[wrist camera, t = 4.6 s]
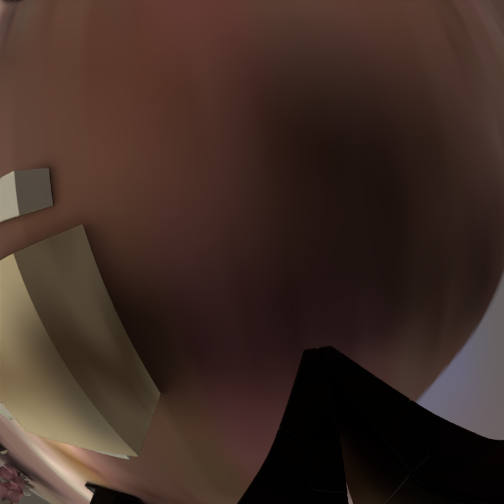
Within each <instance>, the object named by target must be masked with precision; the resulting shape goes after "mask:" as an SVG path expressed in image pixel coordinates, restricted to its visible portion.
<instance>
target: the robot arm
mask: <svg viewBox="0 0 504 504" xmlns="http://www.w3.org/2000/svg"><path fill="white" fill-rule="evenodd" d="M346 483H347V486H348V489H349V492H350V496H351V499H352V502H353V504H504V440H494V439H489V438H486V437H483V436H481V435H478V434H476V433H474V432H471V431H469V430H467V429H465V428H462V427H460V426H458V425H456V424H454V423H451V422H449V421H447V420H445V419H443V418H441V417H439V416H437V415H435V414H433V413H432V412H430V411H428V410H427V409H425V408H423V407H422V406H420V405H419V404H417V403H416V402H414V401H412V400H411V401H410V399H409V398H408V397H406V396H405V395H403V394H402V393H400V392H399V391H397V390H395V389H394V388H392V387H391V386H389V385H388V384H386V383H385V382H383V381H382V380H380V379H379V378H377V377H376V376H375V375H373V374H372V373H370V372H369V371H367V370H366V369H364V368H363V367H361V366H360V365H358V364H357V363H355V362H354V361H352V360H351V359H350V358H348V357H347V356H345V355H344V354H342V353H341V352H339V351H338V350H337V349H335V348H334V347H332V346H327V347H320V348H318V349H317V348H313V349H306V350H304V351H303V354H302V358H301V361H300V365H299V368H298V371H297V375H296V378H295V381H294V384H293V388H292V391H291V394H290V397H289V400H288V403H287V406H286V409H285V412H284V415H283V418H282V421H281V424H280V426H279V429H278V431H277V434H276V437H275V440H274V442H273V444H272V447H271V449H270V451H269V453H268V456H267V457H266V459H265V461H264V463H263V465H262V466H261V468H260V470H259V472H258V473H257V475H256V476H255V478H254V479H253V481H252V483H251V484H250V486H249V487H248V489H247V490H246V492H245V493H244V494H243V496H242V497H241V499H240V500H239V502H238V503H237V504H349V503H348V496H347V486H346ZM85 487H87V488H88V489H89V490H90V491H91V492H93V493H94V494H93V496H92V499H91V502H90V504H144V503H142V502H141V501H140V500H139V499H137V498H135V497H131V496H127V495H123V494H120V493H116V492H113V491H109V490H106V489H103V488H100V487H97V486H94V485H91V484H88V483H86V484H85Z"/></svg>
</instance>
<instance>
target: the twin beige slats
mask: <svg viewBox="0 0 504 504" xmlns="http://www.w3.org/2000/svg"><path fill="white" fill-rule="evenodd" d="M51 206H53V200H52V193H51V185H50V175H49V168H41V169H28V170H17V171H13V172H11V173H9V174H7V175H5V176H3V177H1V178H0V223H1V222H4V221H7V220H10V219H12V218H15V217H18V216H21V215H25V214H28V213H31V212H34V211H37V210H41V209H44V208H47V207H51ZM0 410H1V411H2V412H3V414H5V415H6V416H8V417H10V418H12V419H14V420H15V418H14V417H13V416H12V415H11V413H10V412H9V411H8V410H7V408H6V407H5V406H4V404H3V403H2V402H1V400H0ZM89 450H91V449H89ZM92 451H96V450H92ZM96 452H99V453H103V454H107V455H111V456H115V457H119V458H124V459H129V460H130V458H131V456H128V455H120V454H113V453H107V452H101V451H96Z"/></svg>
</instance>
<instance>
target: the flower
mask: <svg viewBox="0 0 504 504" xmlns="http://www.w3.org/2000/svg"><path fill="white" fill-rule="evenodd" d="M7 451H8V450H4V451H0V453H1V454H6V452H7ZM4 466H5V467H6V468H7V469H8V470H7V469H6V468H4V467H3V466H2V467H0V477H1V478H2V479H3V480H5V481H7V482H4V483H3V482H1V481H0V504H14V503H18V501H19V500H20V498H22V497H23V496H24V495H25V496H29V495H31V494H30V493H29V492H28V490H29V489H32V490H34V486H32V485H31V484H28V483H29V482H28V481H26V480H24V479H26V478H28V477H27V476H25V475H22V476H21V472H17V470H16V469H15V468H14V467H13V466H12V465H9V464H6V463H5V464H4ZM8 493H9V494H10V495H9V496H8Z"/></svg>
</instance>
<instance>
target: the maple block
mask: <svg viewBox="0 0 504 504" xmlns="http://www.w3.org/2000/svg"><path fill="white" fill-rule="evenodd" d="M160 394H161V393H160V392H159V390H158V389H157V387H156V385H155V384H154V382H153V380H152V379H151V377H150V375H149V374H148V372H147V370H146V368H145V367H144V365H143V363H142V361H141V360H140V358H139V356H138V354H137V352H136V350H135V349H134V347H133V345H132V343H131V341H130V339H129V337H128V335H127V333H126V331H125V329H124V327H123V325H122V323H121V321H120V319H119V317H118V314H117V312H116V310H115V308H114V306H113V303H112V301H111V299H110V297H109V294H108V292H107V290H106V287H105V285H104V282H103V280H102V277H101V275H100V272H99V270H98V267H97V264H96V262H95V259H94V256H93V254H92V251H91V248H90V245H89V242H88V239H87V236H86V233H85V230H84V227H83V224H81V225H79V226H76V227H74V228H71V229H69V230H66V231H64V232H61V233H59V234H56V235H54V236H51V237H49V238H47V239H44V240H42V241H40V242H37V243H35V244H33V245H31V246H28V247H26V248H24V249H22V250H20V251H17V252H15V253H13V254H11V255H9V256H8V257H6V258H4V259H2V260H0V400H1V402H2V403H3V404H4V406H5V407H6V408H7V410H8V411H9V412H10V413H11V415H12V416H13V417H14V418H15V420H16V421H17V422H18V423H19V424H20V425H21V427H22V428H23V429H24V430H25V431H26V432H29V433H32V434H35V435H38V436H41V437H44V438H47V439H50V440H54V441H57V442H61V443H65V444H69V445H73V446H77V447H81V448H86V449H91V450H96V451H101V452H107V453H113V454H120V455H128V456H137V457H139V455H140V452H141V449H142V446H143V443H144V440H145V437H146V434H147V431H148V428H149V425H150V423H151V420H152V417H153V414H154V411H155V408H156V406H157V403H158V400H159V397H160Z"/></svg>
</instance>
